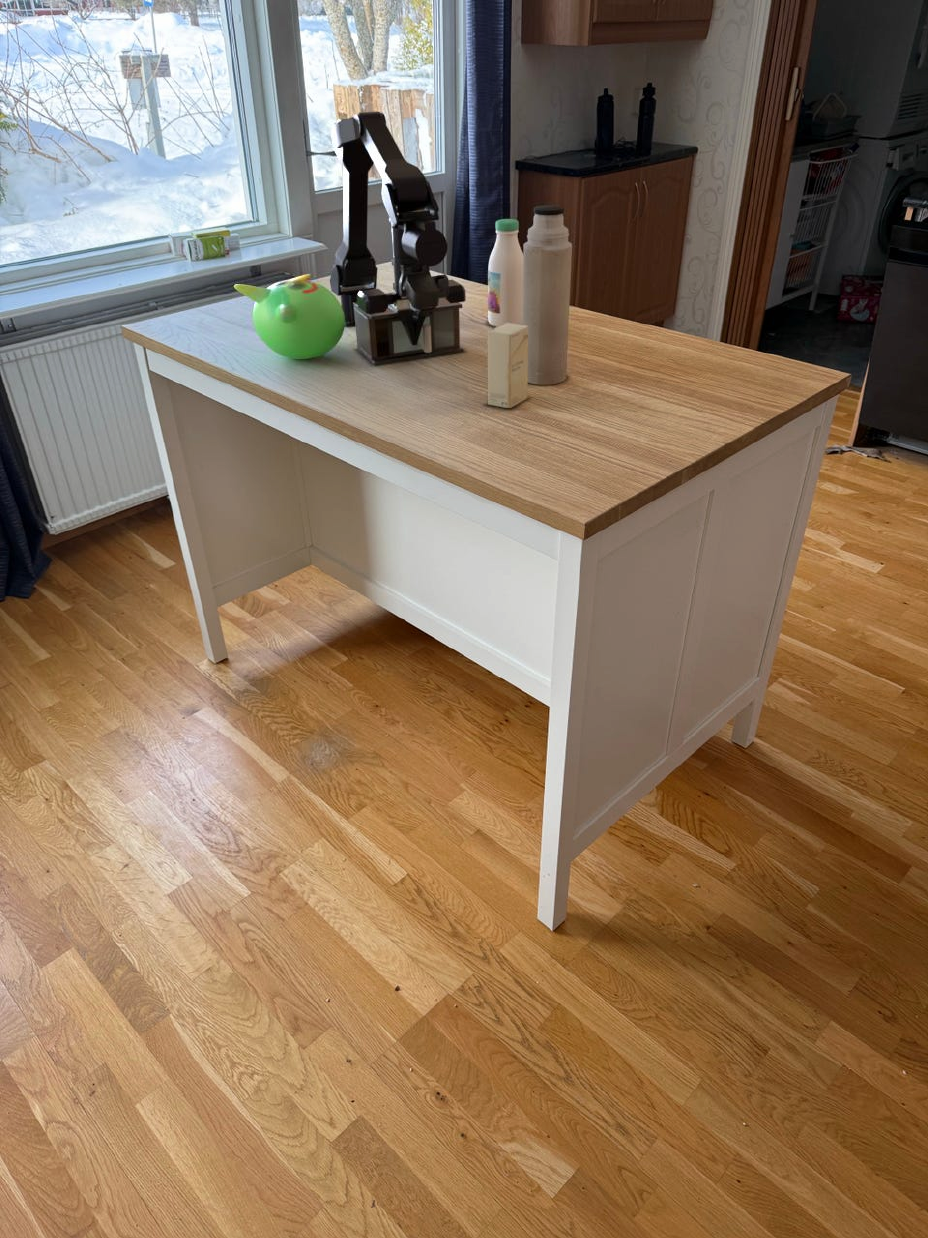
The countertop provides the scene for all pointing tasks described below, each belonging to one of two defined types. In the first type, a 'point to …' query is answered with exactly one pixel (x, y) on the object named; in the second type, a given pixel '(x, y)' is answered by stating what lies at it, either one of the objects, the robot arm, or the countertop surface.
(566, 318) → the thermos bottle
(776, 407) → the countertop surface
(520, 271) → the milk bottle
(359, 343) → the cupboard
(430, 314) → the glass door
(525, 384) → the cosmetic box
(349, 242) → the robot arm
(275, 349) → the toy bird
